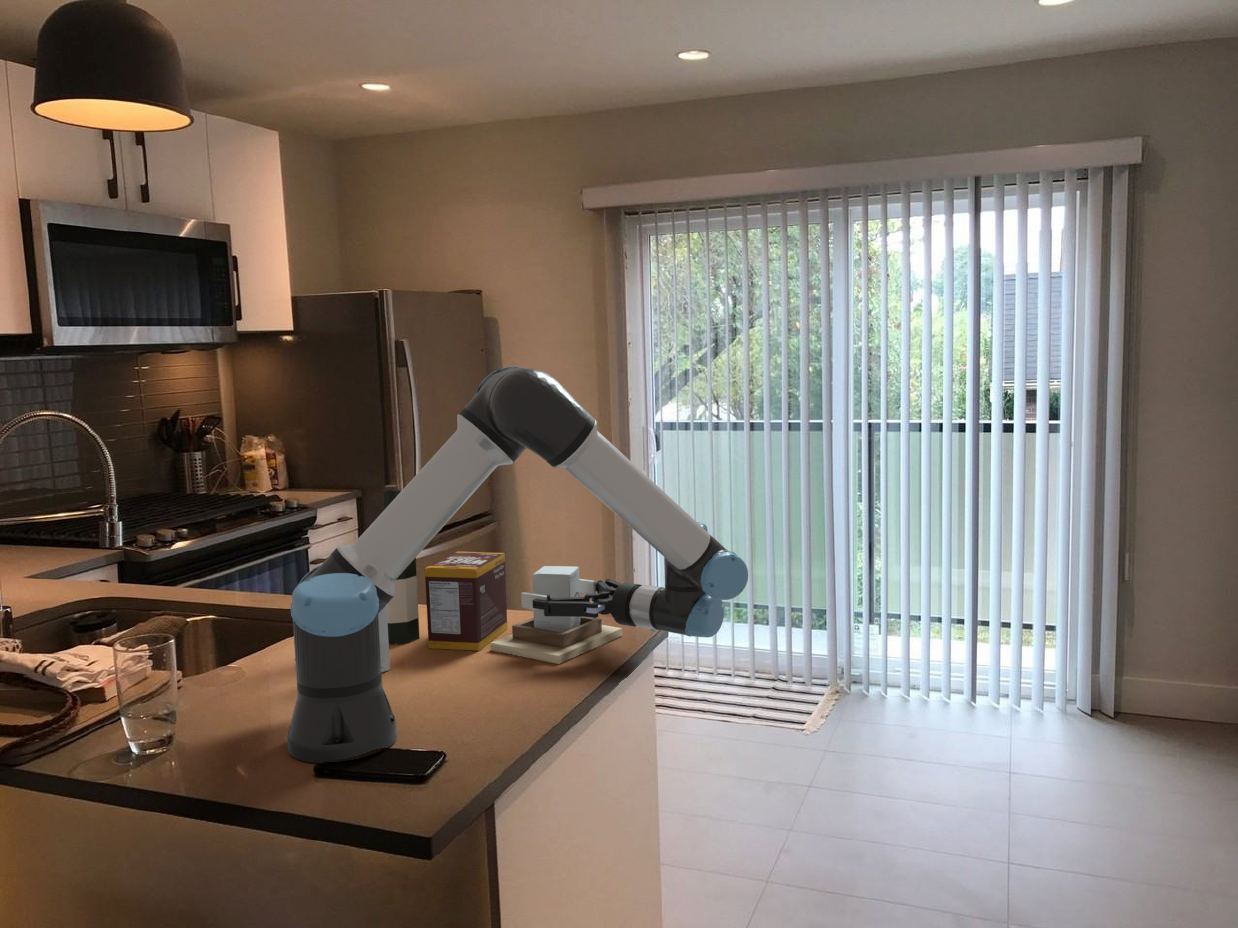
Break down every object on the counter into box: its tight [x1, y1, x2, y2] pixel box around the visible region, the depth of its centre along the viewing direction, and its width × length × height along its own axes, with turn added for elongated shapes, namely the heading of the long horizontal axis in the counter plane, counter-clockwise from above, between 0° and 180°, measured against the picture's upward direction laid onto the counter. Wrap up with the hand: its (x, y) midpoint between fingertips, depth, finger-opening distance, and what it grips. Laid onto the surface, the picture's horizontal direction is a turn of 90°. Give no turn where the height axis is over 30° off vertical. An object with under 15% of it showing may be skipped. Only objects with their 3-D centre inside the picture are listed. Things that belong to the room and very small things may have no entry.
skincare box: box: [378, 605, 391, 673], centre depth 175 cm, size 6×4×12 cm
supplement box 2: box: [532, 565, 581, 633], centre depth 188 cm, size 7×7×13 cm
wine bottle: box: [382, 484, 420, 646], centre depth 193 cm, size 8×8×30 cm
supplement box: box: [424, 551, 508, 652], centre depth 193 cm, size 10×15×16 cm
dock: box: [489, 617, 623, 665], centre depth 189 cm, size 20×16×4 cm
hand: (545, 591), depth 189 cm, fingers open, 13 cm apart
